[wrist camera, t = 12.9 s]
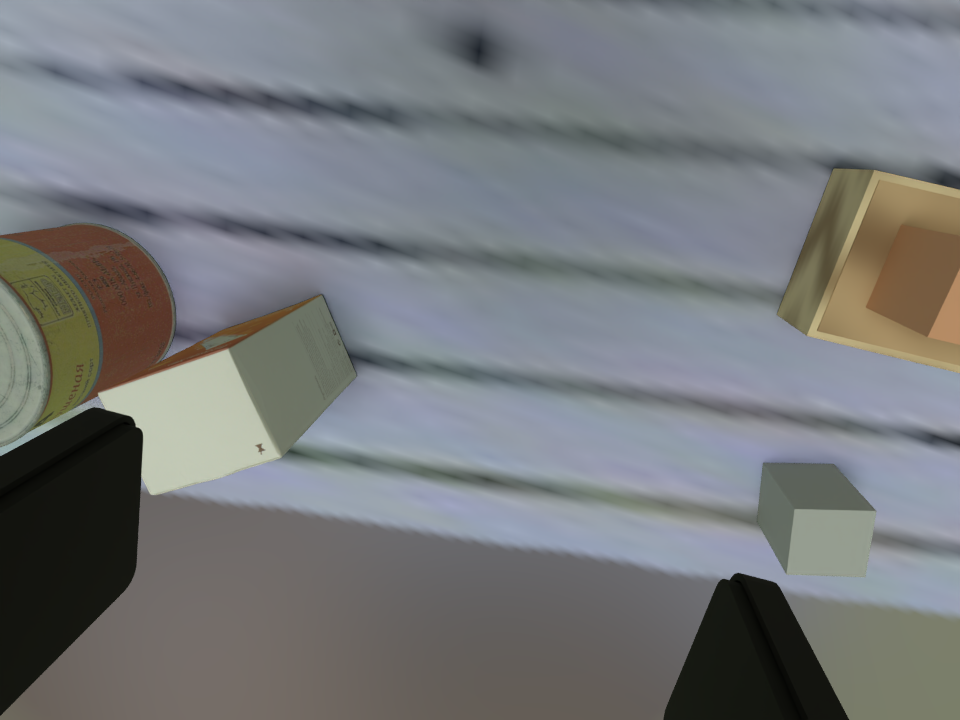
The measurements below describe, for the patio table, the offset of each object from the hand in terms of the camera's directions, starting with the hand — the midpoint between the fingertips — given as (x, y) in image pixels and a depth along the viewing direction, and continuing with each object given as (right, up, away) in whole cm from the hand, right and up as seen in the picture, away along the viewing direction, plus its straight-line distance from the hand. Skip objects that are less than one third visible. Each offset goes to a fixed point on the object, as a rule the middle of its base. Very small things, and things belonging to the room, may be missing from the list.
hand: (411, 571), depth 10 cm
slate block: (+23, -6, +33) cm, 41 cm away
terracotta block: (+25, +8, +23) cm, 35 cm away
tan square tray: (+25, +9, +28) cm, 39 cm away
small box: (-12, +4, +34) cm, 37 cm away
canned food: (-26, +7, +35) cm, 44 cm away
